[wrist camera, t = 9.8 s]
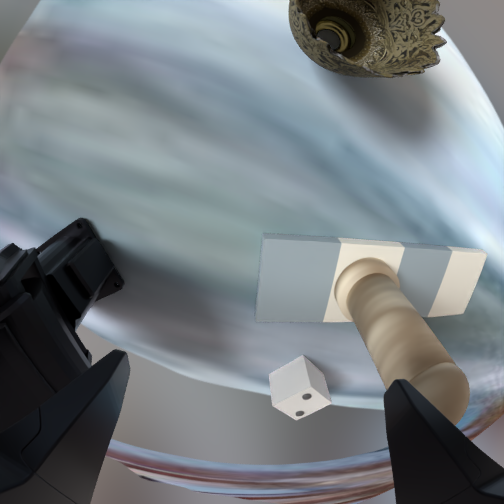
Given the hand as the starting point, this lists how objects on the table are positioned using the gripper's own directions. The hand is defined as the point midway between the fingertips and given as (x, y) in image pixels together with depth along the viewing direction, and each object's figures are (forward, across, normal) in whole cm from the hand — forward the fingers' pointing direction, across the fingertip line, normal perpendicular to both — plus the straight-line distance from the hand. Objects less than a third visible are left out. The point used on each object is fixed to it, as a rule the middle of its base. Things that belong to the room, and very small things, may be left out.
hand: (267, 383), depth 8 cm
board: (+14, -11, +3) cm, 18 cm away
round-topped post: (+12, -9, +3) cm, 15 cm away
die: (+13, -6, +15) cm, 21 cm away
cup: (+14, -2, -14) cm, 20 cm away
